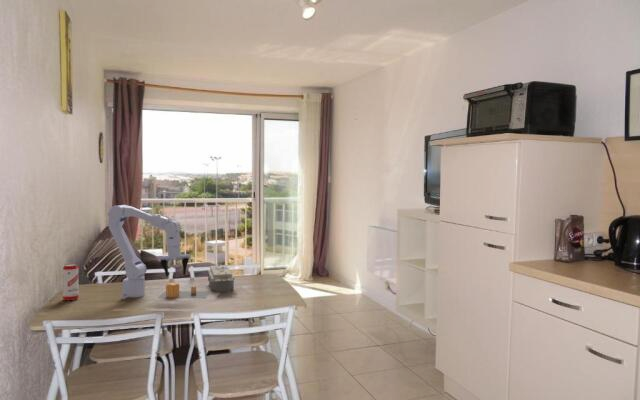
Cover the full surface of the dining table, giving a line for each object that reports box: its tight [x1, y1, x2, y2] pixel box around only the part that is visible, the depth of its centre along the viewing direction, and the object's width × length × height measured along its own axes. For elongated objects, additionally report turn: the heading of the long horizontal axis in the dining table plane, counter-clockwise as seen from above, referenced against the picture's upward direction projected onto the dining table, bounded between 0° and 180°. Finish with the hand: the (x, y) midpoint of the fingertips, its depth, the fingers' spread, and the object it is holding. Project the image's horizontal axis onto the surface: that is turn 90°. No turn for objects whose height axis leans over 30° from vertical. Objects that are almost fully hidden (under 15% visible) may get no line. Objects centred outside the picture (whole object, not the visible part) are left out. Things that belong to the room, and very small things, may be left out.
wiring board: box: [157, 285, 211, 299], centre depth 211 cm, size 22×12×5 cm, turn 93°
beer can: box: [62, 263, 80, 301], centre depth 204 cm, size 6×6×16 cm
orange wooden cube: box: [165, 282, 180, 297], centre depth 209 cm, size 6×6×6 cm
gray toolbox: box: [207, 264, 235, 293], centre depth 229 cm, size 12×28×10 cm, turn 20°
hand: (175, 275), depth 209 cm, fingers open, 7 cm apart
